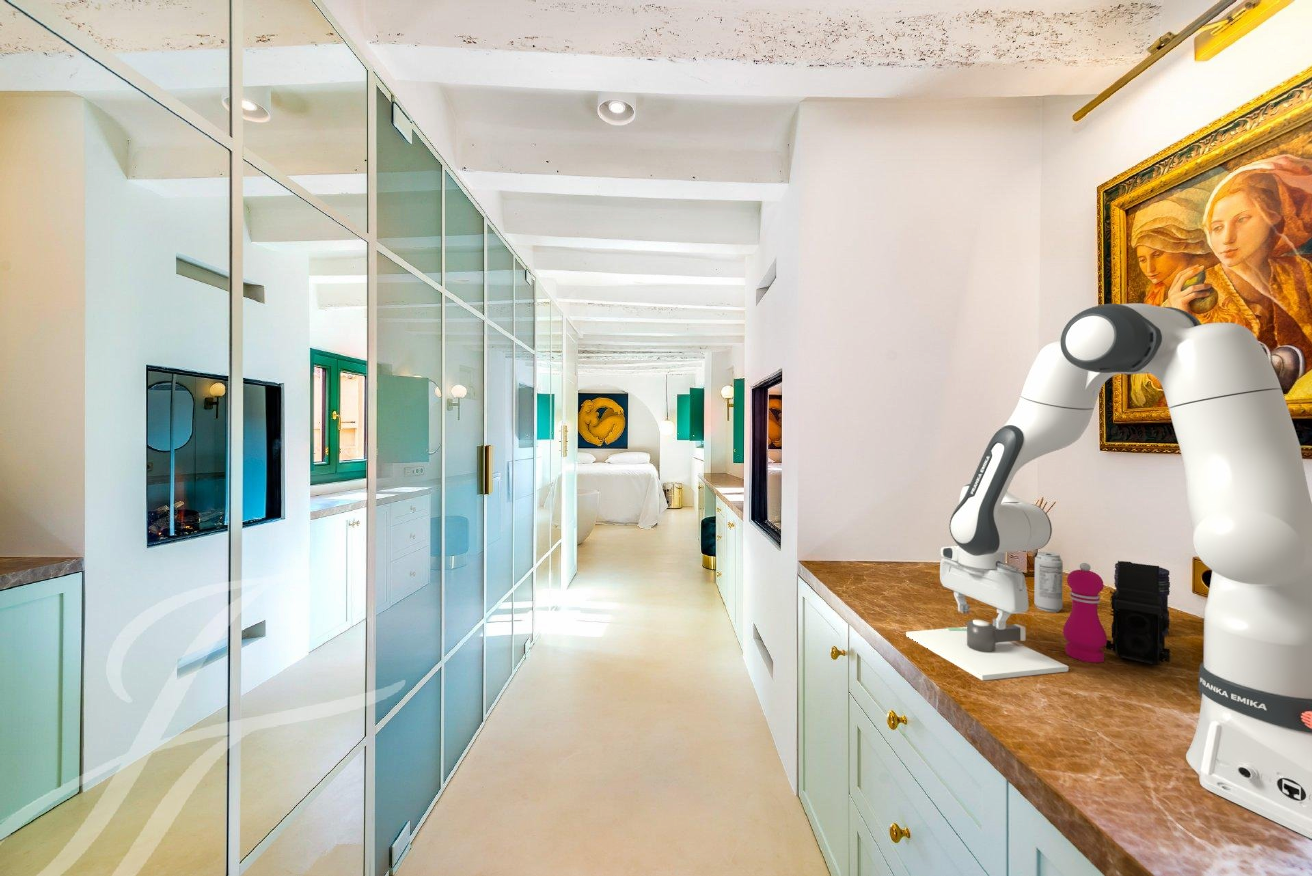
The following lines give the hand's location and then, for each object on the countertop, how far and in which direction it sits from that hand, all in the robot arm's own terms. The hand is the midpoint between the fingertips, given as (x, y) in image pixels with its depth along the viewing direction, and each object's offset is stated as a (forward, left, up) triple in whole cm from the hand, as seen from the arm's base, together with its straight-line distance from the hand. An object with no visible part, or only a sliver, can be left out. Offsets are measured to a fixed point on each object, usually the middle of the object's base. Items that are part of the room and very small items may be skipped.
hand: (980, 620), depth 112 cm
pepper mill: (-6, -20, -7) cm, 22 cm away
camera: (-9, -30, -7) cm, 32 cm away
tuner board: (0, 0, -7) cm, 7 cm away
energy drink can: (+20, -40, -7) cm, 45 cm away
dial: (0, -4, -6) cm, 7 cm away
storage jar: (+4, -49, -7) cm, 50 cm away
